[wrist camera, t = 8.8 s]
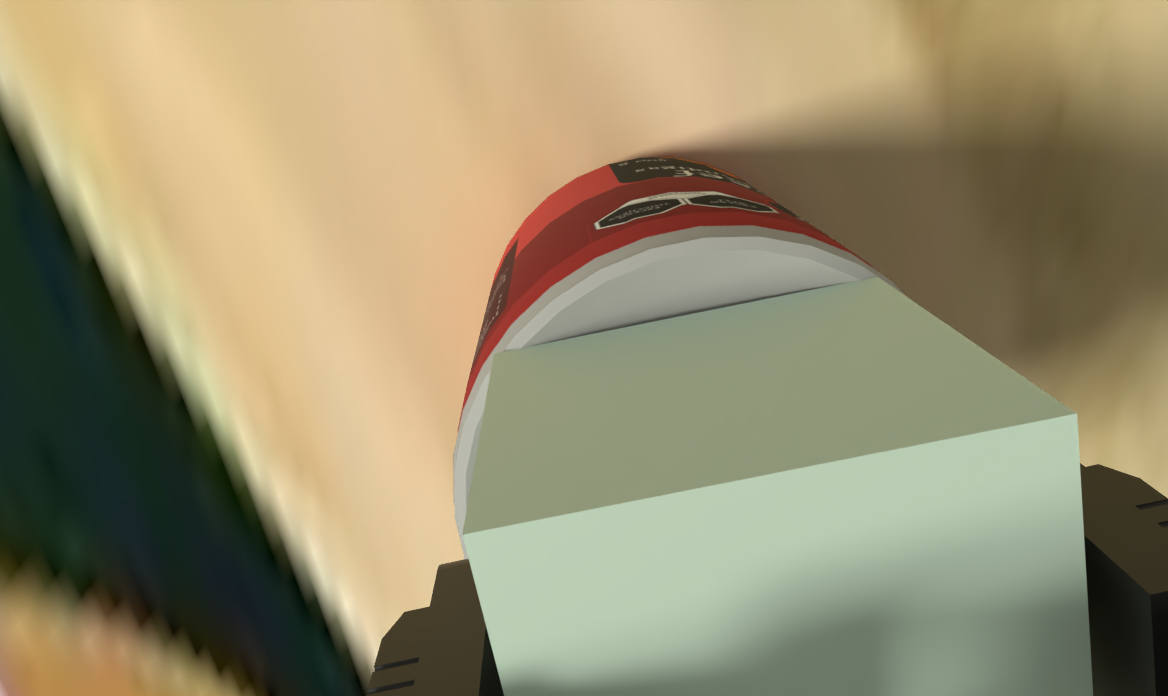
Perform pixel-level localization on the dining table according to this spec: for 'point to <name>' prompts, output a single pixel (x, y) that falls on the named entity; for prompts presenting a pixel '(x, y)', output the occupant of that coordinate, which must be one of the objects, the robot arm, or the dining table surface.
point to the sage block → (779, 510)
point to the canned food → (640, 266)
